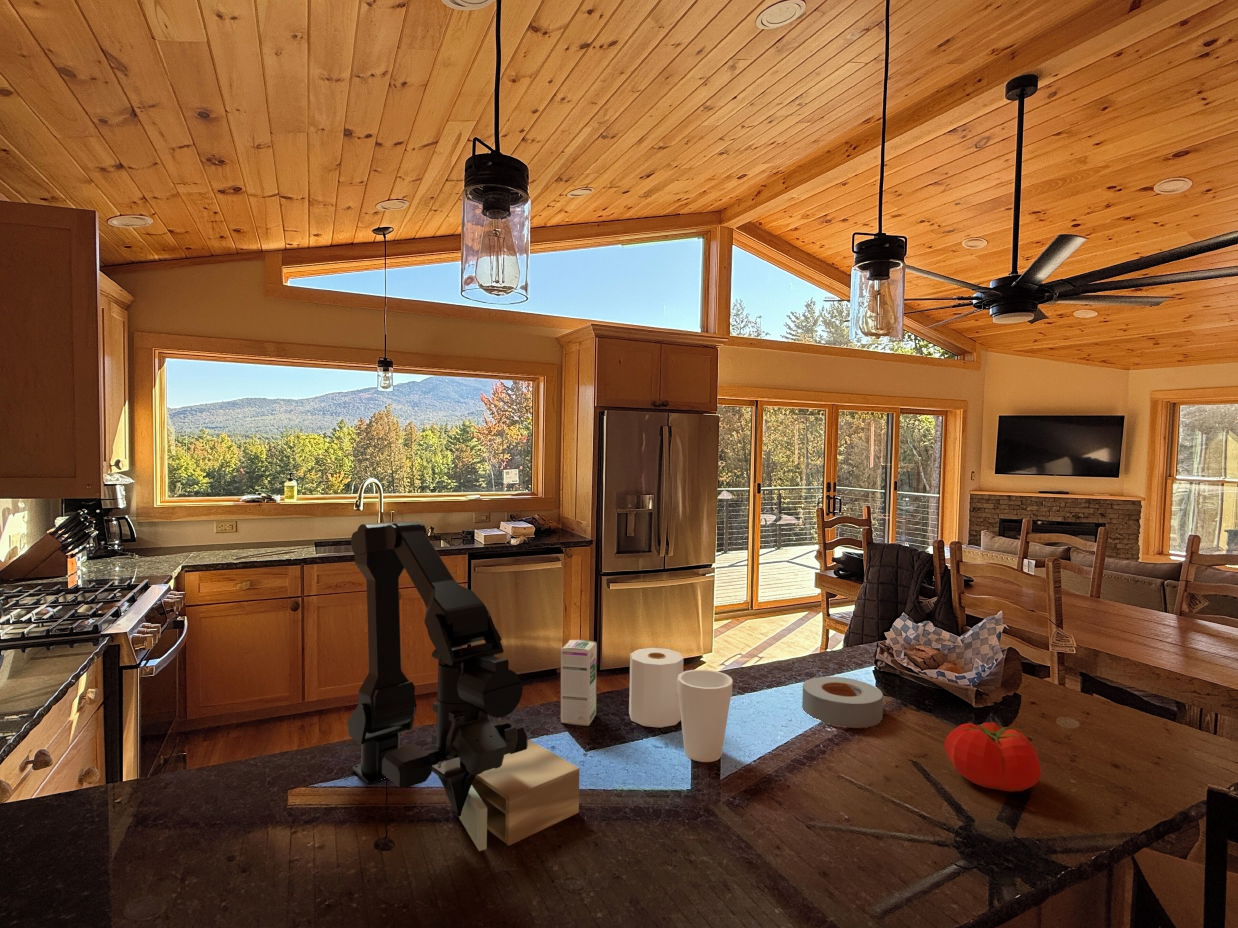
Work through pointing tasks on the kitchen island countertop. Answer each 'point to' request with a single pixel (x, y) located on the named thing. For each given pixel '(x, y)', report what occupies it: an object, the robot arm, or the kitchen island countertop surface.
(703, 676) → the foam cup
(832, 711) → the tape roll
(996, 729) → the tomato
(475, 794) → the door
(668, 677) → the toilet paper
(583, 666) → the syrup box
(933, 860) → the kitchen island countertop surface
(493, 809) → the cabinet
